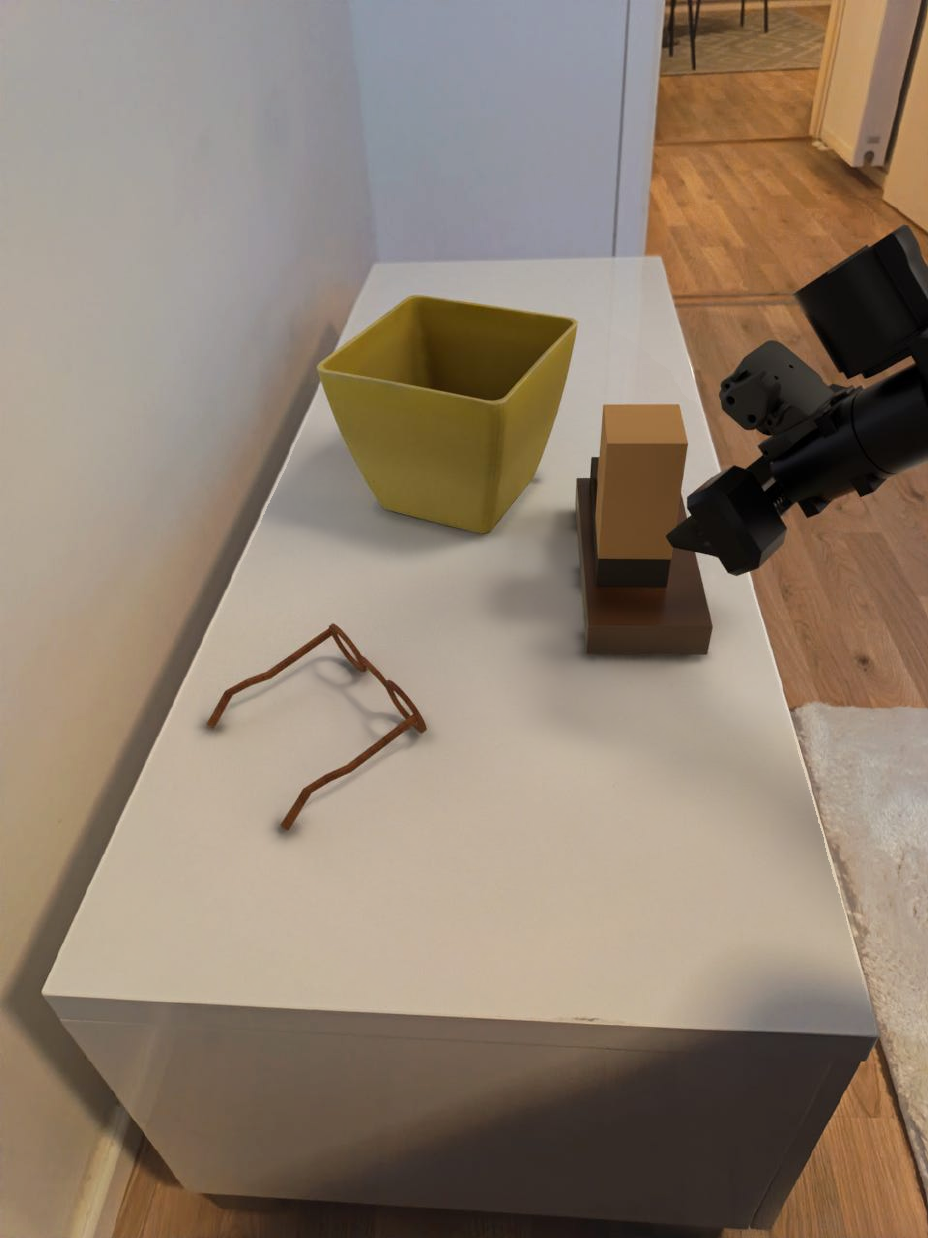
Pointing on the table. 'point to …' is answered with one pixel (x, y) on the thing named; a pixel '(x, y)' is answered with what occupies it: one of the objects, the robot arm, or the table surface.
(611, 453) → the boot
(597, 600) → the brown wooden slab
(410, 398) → the flower pot
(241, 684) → the glasses
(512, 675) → the table surface
